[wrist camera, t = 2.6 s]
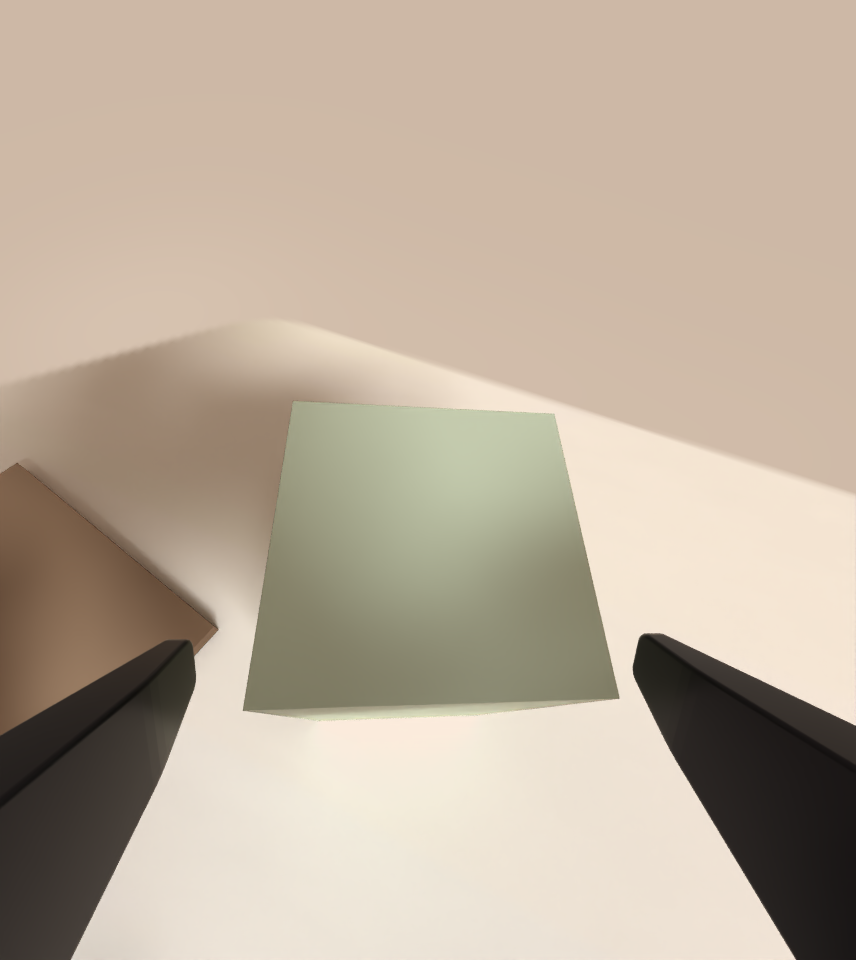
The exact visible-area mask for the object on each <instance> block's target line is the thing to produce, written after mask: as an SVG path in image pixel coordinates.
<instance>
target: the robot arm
mask: <svg viewBox="0 0 856 960" xmlns="http://www.w3.org/2000/svg"><path fill="white" fill-rule="evenodd" d="M633 675H634V678H635V680H636V682H637V684H638V687H639V689H640V691H641V693H642V695H643V697H644V699H645V701H646V703H647V705H648V707H649V709H650V711H651V713H652V715H653V717H654V719H655V721H656V723H657V725H658V727H659V729H660V731H661V733H662V735H663V737H664V739H665V741H666V743H667V745H668V747H669V749H670V751H671V753H672V754H673V756H674V758H675V760H676V761H677V763H678V765H679V766H680V768H681V770H682V771H683V773H684V775H685V776H686V778H687V780H688V781H689V783H690V785H691V786H692V788H693V790H694V791H695V793H696V795H697V796H698V798H699V800H700V801H701V803H702V805H703V806H704V808H705V810H706V811H707V813H708V815H709V816H710V818H711V820H712V821H713V823H714V825H715V826H716V828H717V830H718V831H719V833H720V835H721V836H722V838H723V839H724V841H725V843H726V844H727V846H728V848H729V849H730V851H731V853H732V854H733V856H734V858H735V859H736V861H737V863H738V864H739V866H740V868H741V869H742V871H743V873H744V874H745V876H746V878H747V879H748V881H749V883H750V884H751V886H752V888H753V889H754V891H755V893H756V894H757V896H758V898H759V899H760V901H761V903H762V904H763V906H764V908H765V909H766V911H767V912H768V914H769V916H770V917H771V919H772V921H773V922H774V924H775V926H776V927H777V929H778V931H779V932H780V934H781V936H782V937H783V939H784V941H785V942H786V944H787V946H788V947H789V949H790V951H791V952H792V954H793V956H794V957H795V959H796V960H856V726H855V725H853V724H851V723H849V722H847V721H845V720H843V719H840V718H838V717H836V716H834V715H832V714H830V713H828V712H826V711H824V710H822V709H819V708H817V707H815V706H813V705H811V704H809V703H807V702H805V701H803V700H801V699H798V698H796V697H794V696H792V695H790V694H788V693H786V692H784V691H782V690H780V689H777V688H775V687H773V686H771V685H769V684H767V683H765V682H763V681H761V680H759V679H756V678H754V677H752V676H750V675H748V674H746V673H744V672H742V671H740V670H738V669H735V668H733V667H731V666H729V665H727V664H725V663H723V662H721V661H719V660H716V659H714V658H712V657H710V656H708V655H706V654H704V653H702V652H700V651H698V650H695V649H693V648H691V647H689V646H687V645H685V644H683V643H681V642H679V641H677V640H674V639H672V638H670V637H668V636H666V635H664V634H660V633H647V634H643V635H641V636H640V638H639V640H638V645H637V649H636V654H635V658H634V663H633ZM195 683H196V671H195V660H194V650H193V644H192V642H191V641H190V640H189V639H168V640H165V641H163V642H161V643H160V644H158V645H156V646H154V647H153V648H151V649H149V650H148V651H146V652H144V653H142V654H141V655H139V656H137V657H135V658H134V659H132V660H130V661H128V662H127V663H125V664H123V665H121V666H120V667H118V668H116V669H115V670H113V671H111V672H109V673H108V674H106V675H104V676H102V677H101V678H99V679H97V680H95V681H94V682H92V683H90V684H88V685H87V686H85V687H83V688H82V689H80V690H78V691H76V692H75V693H73V694H71V695H69V696H68V697H66V698H64V699H62V700H61V701H59V702H57V703H55V704H54V705H52V706H50V707H48V708H47V709H45V710H43V711H42V712H40V713H38V714H36V715H35V716H33V717H31V718H29V719H28V720H26V721H24V722H22V723H21V724H19V725H17V726H15V727H14V728H12V729H10V730H8V731H7V732H5V733H3V734H2V735H0V960H71V958H72V956H73V954H74V952H75V950H76V948H77V946H78V944H79V942H80V940H81V938H82V936H83V934H84V932H85V930H86V928H87V926H88V924H89V922H90V920H91V918H92V916H93V914H94V912H95V910H96V908H97V905H98V903H99V901H100V899H101V897H102V895H103V893H104V891H105V889H106V887H107V885H108V883H109V881H110V879H111V877H112V875H113V873H114V871H115V869H116V867H117V865H118V863H119V861H120V859H121V857H122V855H123V853H124V851H125V849H126V847H127V845H128V843H129V841H130V839H131V837H132V834H133V832H134V830H135V828H136V826H137V824H138V822H139V820H140V818H141V816H142V814H143V812H144V810H145V808H146V806H147V804H148V802H149V800H150V798H151V796H152V794H153V792H154V790H155V788H156V786H157V783H158V781H159V779H160V777H161V775H162V772H163V770H164V767H165V765H166V762H167V760H168V757H169V755H170V752H171V749H172V747H173V744H174V741H175V739H176V736H177V733H178V731H179V728H180V725H181V723H182V720H183V717H184V715H185V712H186V709H187V707H188V704H189V701H190V699H191V696H192V694H193V691H194V687H195Z"/></svg>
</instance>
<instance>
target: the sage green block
mask: <svg viewBox="0 0 856 960" xmlns="http://www.w3.org/2000/svg"><path fill="white" fill-rule="evenodd" d="M611 699H619V694H618V689H617V685H616V681H615V676H614V672H613V668H612V663H611V659H610V654H609V650H608V646H607V641H606V637H605V633H604V628H603V624H602V620H601V615H600V611H599V607H598V602H597V598H596V593H595V589H594V585H593V580H592V576H591V572H590V567H589V563H588V559H587V554H586V550H585V546H584V541H583V537H582V532H581V528H580V524H579V519H578V515H577V511H576V506H575V502H574V498H573V493H572V489H571V485H570V480H569V476H568V471H567V467H566V463H565V458H564V454H563V450H562V445H561V441H560V437H559V432H558V428H557V424H556V419H555V415H554V414H547V413H527V412H507V411H487V410H467V409H447V408H427V407H407V406H386V405H366V404H346V403H326V402H306V401H293V404H292V410H291V416H290V423H289V429H288V435H287V441H286V447H285V453H284V460H283V466H282V472H281V478H280V484H279V491H278V497H277V503H276V509H275V515H274V521H273V528H272V534H271V540H270V546H269V552H268V558H267V565H266V571H265V577H264V583H263V589H262V595H261V602H260V608H259V614H258V620H257V626H256V632H255V639H254V645H253V651H252V657H251V663H250V670H249V676H248V682H247V688H246V694H245V700H244V707H243V711H250V712H257V713H264V714H271V715H279V716H286V717H293V718H301V719H308V720H315V721H334V720H362V719H390V718H418V717H446V716H474V715H485V714H493V713H501V712H510V711H518V710H527V709H535V708H544V707H552V706H560V705H569V704H577V703H586V702H594V701H602V700H611Z"/></svg>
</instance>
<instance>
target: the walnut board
mask: <svg viewBox="0 0 856 960" xmlns="http://www.w3.org/2000/svg"><path fill="white" fill-rule="evenodd" d="M217 631H218V629H217V628H216V627H215V626H213V625H212V624H211V623H210V622H209V621H207V620H206V619H205V618H204V617H203V616H201V615H200V614H199V613H198V612H197V611H195V610H194V609H193V608H192V607H191V606H189V605H188V604H187V603H186V602H185V601H183V600H182V599H181V598H180V597H179V596H177V595H176V594H175V593H174V592H172V591H171V590H170V589H169V588H168V587H166V586H165V585H164V584H163V583H162V582H160V581H159V580H158V579H157V578H156V577H154V576H153V575H152V574H151V573H150V572H148V571H147V570H146V569H145V568H144V567H142V566H141V565H140V564H139V563H138V562H136V561H135V560H134V559H133V558H132V557H130V556H129V555H128V554H127V553H126V552H124V551H123V550H122V549H121V548H120V547H118V546H117V545H116V544H115V543H114V542H112V541H111V540H110V539H109V538H108V537H106V536H105V535H104V534H103V533H102V532H100V531H99V530H98V529H97V528H96V527H94V526H93V525H92V524H91V523H90V522H88V521H87V520H86V519H85V518H84V517H82V516H81V515H80V514H79V513H78V512H76V511H75V510H74V509H73V508H72V507H70V506H69V505H68V504H67V503H65V502H64V501H63V500H62V499H61V498H59V497H58V496H57V495H56V494H55V493H53V492H52V491H51V490H50V489H49V488H47V487H46V486H45V485H44V484H43V483H41V482H40V481H39V480H38V479H37V478H35V477H34V476H33V475H32V474H31V473H29V472H28V471H27V470H26V469H24V468H23V467H22V466H20V465H19V464H18V463H16V464H15V465H13V466H12V467H10V468H9V469H7V470H6V471H4V472H3V473H1V474H0V735H2V734H3V733H5V732H7V731H8V730H10V729H12V728H14V727H15V726H17V725H19V724H21V723H22V722H24V721H26V720H28V719H29V718H31V717H33V716H35V715H36V714H38V713H40V712H42V711H43V710H45V709H47V708H48V707H50V706H52V705H54V704H55V703H57V702H59V701H61V700H62V699H64V698H66V697H68V696H69V695H71V694H73V693H75V692H76V691H78V690H80V689H82V688H83V687H85V686H87V685H88V684H90V683H92V682H94V681H95V680H97V679H99V678H101V677H102V676H104V675H106V674H108V673H109V672H111V671H113V670H115V669H116V668H118V667H120V666H121V665H123V664H125V663H127V662H128V661H130V660H132V659H134V658H135V657H137V656H139V655H141V654H142V653H144V652H146V651H148V650H149V649H151V648H153V647H154V646H156V645H158V644H160V643H161V642H163V641H165V640H168V639H189V640H190V641H191V642H192V644H193V650H194V656H195V654H196V653H197V652H198V651H199V650H200V649H201V648H202V647H203V646H204V645H205V644H206V643H207V642H208V640H209V639H210V638H211V637H212V636H213V635H214V634H215V633H216V632H217Z"/></svg>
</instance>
